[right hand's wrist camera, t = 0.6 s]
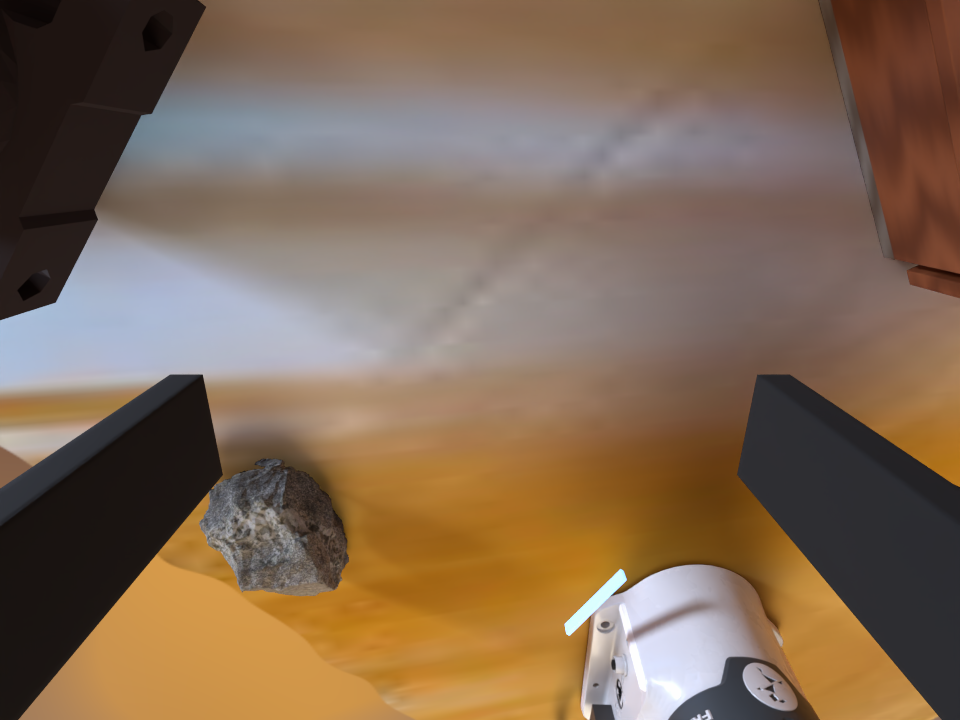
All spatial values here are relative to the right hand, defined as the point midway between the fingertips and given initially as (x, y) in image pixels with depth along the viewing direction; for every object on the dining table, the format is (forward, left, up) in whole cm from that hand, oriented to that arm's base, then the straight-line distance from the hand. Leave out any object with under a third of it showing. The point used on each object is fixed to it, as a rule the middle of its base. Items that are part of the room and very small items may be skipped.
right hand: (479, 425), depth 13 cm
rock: (+23, -16, -27) cm, 39 cm away
